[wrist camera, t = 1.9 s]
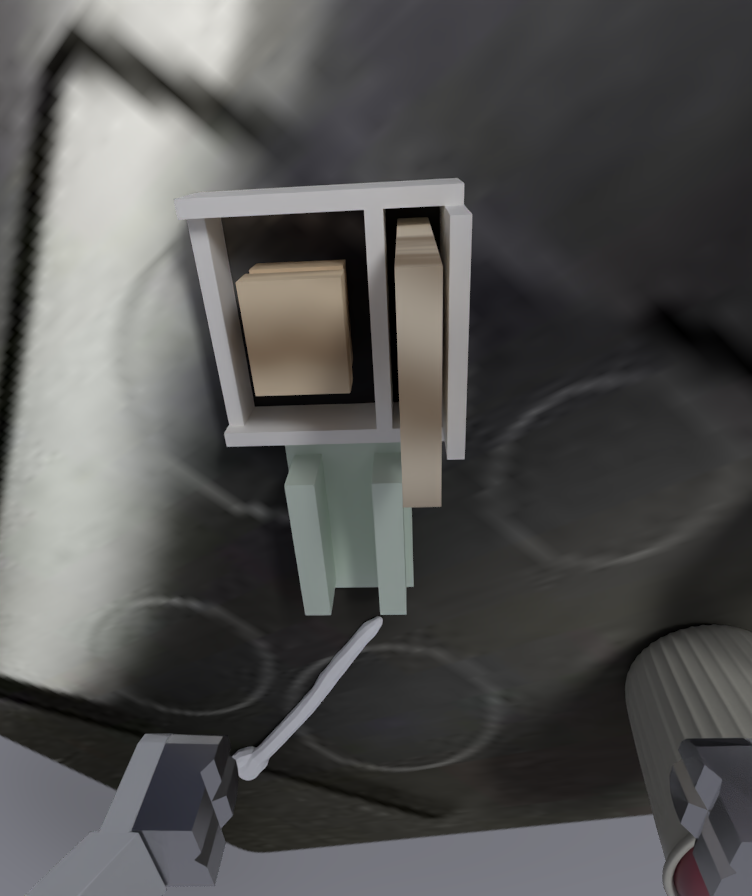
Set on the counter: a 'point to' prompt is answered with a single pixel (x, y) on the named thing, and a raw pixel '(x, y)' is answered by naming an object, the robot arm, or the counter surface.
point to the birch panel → (419, 360)
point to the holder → (349, 522)
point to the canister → (686, 723)
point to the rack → (455, 254)
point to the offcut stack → (297, 327)
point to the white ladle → (305, 703)
